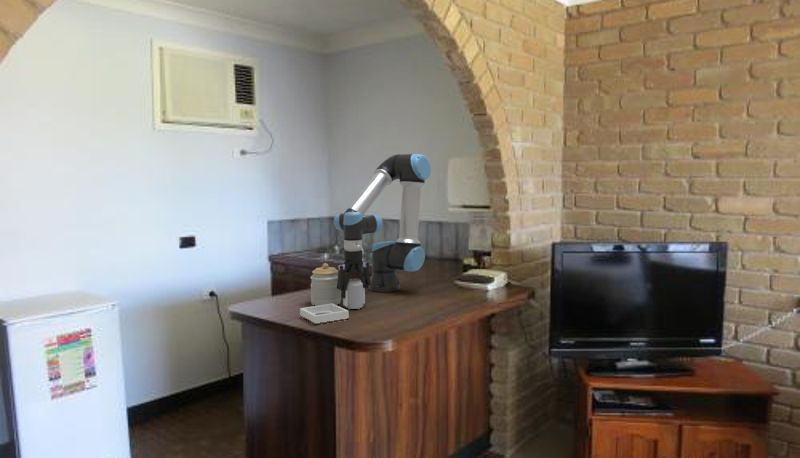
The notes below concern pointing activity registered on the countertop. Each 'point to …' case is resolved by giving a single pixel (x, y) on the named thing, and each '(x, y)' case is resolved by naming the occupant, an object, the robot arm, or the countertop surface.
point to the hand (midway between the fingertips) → (354, 304)
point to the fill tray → (324, 313)
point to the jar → (325, 286)
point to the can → (355, 294)
